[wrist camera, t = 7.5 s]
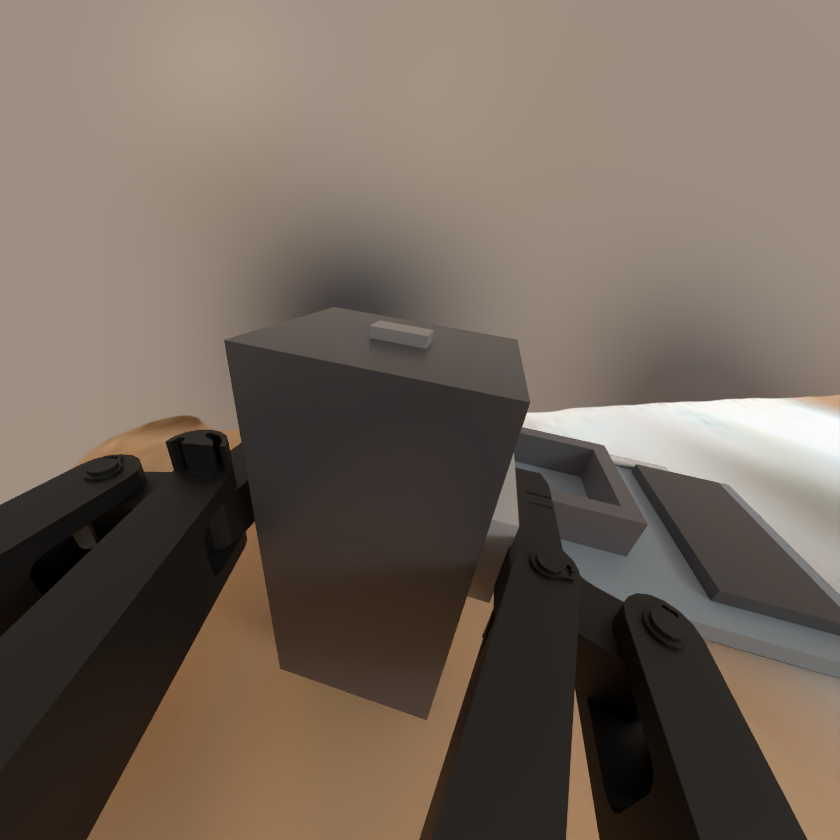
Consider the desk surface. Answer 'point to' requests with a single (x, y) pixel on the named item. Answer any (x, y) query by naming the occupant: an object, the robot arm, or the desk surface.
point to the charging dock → (686, 551)
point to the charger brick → (373, 488)
